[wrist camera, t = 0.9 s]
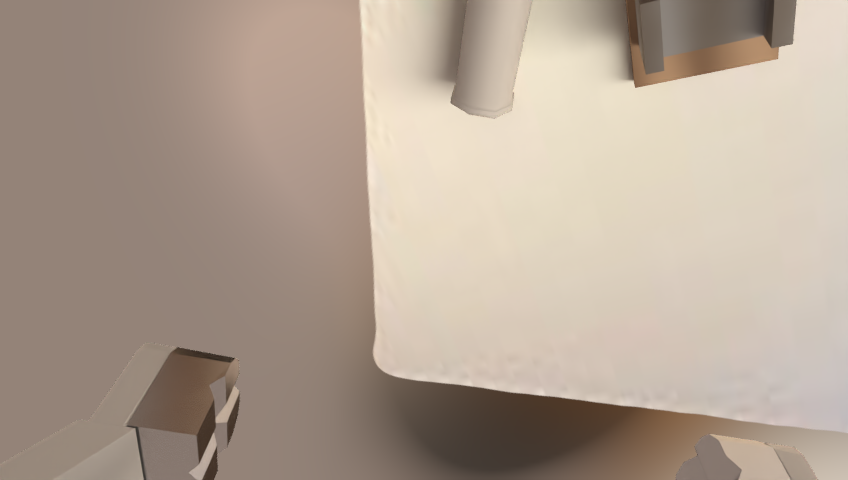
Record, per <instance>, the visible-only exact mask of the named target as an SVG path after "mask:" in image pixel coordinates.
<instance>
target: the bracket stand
mask: <svg viewBox="0 0 848 480" xmlns="http://www.w3.org/2000/svg"><path fill="white" fill-rule="evenodd" d="M626 8H627V18H628V28H629V38H630V48H631V58H632V68H633V78H634V84H635V88H637V87H642V86H647V85H652V84H657V83H661V82H666V81H671V80H676V79H681V78H686V77H691V76H696V75H701V74H706V73H711V72H716V71H721V70H725V69H730V68H735V67H740V66H745V65H750V64H755V63H760V62H765V61H770V60H775V59H778V52H779V47H781V46H785V45H790V44H793V34H794V22H795V11H796V0H626Z"/></svg>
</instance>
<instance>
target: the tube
mask: <svg viewBox="0 0 848 480" xmlns="http://www.w3.org/2000/svg"><path fill="white" fill-rule="evenodd" d="M531 4H532V0H467V5H466V12H465V20H464V27H463V35H462V42H461V50H460V57H459V64H458V72H457V79H456V85H455V86H454V90H453V93H452V97H451V104H453V105H455V106H456V107H458V108H460V109H461V110H463V111H465V112H466V113H468V114H470V115H476V116H482V117H488V118H496V117H499V116H501V115H503V114H505V113H507V112H509V111H511V110H512V106H513V99H514V92H513V88H514V84H515V79H516V74H517V70H518V65H519V60H520V55H521V51H522V46H523V41H524V37H525V32H526V27H527V22H528V18H529V13H530V8H531Z"/></svg>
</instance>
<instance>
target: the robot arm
mask: <svg viewBox="0 0 848 480" xmlns="http://www.w3.org/2000/svg"><path fill="white" fill-rule="evenodd" d="M238 376H239V360H238V359H236V358H232V357H227V356H221V355H216V354H211V353H206V352H200V351H195V350H190V349H184V348H179V347H171V346H166V345H160V344H155V343H149V342H147V343H145V344H144V345H143V346H141V347H140V348H139V349H138V350H137V351H136V353H135V354H134V355H133V357H132V358H131V360H130V361H129V363H128V364H127V366H126V367H125V369H124V370H123V372H122V373H121V374H120V376H119V377H118V379H117V380H116V382H115V383H114V385H113V386H112V387H111V389H110V390H109V392H108V393H107V395H106V396H105V398H104V399H103V401H102V402H101V404H100V405H99V406H98V408H97V409H96V411H95V412H94V414H93V415H92V417H91V418H90V419H89V421H87V420H77V421H75V422H74V423H72V424H70V425H68V426H66V427H65V428H63V429H61V430H59V431H58V432H56V433H54V434H53V435H51V436H49V437H47V438H45V439H44V440H42V441H40V442H38V443H36V444H35V445H33V446H31V447H29V448H28V449H26V450H24V451H22V452H21V453H19V454H17V455H15V456H14V457H12V458H10V459H8V460H7V461H5V462H3V463H1V464H0V480H214V478H215V476H216V474H217V471H218V463H217V454H218V453H220V452H221V451H222V450H224V449H225V448H226V447H228V444H229V442H230V439H231V437H232V434H233V431H234V428H235V424H236V420H237V416H238V410H239V402H240V392H239V391H238V389H237V388H236V387H235V386H234V385H235V383H236V381H237V378H238ZM695 449H696V452H697V456H696V457H694V458H692V459H690V460H688V461H685V462H684V463H683V464H682V466H681V468H680V469H679V471H678V472H677V474H676V480H818V479H817V477H816V476H815V474H814V472H813V470H812V469H811V467H810V465H809V464H808V462H807V460H806V459H805V457H804V455H803V454H802V453H800V452H799V451H798V450H797V449H796V448H795V447H790V446H783V445H777V444H770V443H762V442H760V441H753V440H746V439H739V438H732V437H727V436H719V435H713V434H708V435H705V436H703V437H701V438H700V440H699V441H698V443H697V444H696V445H695Z"/></svg>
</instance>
